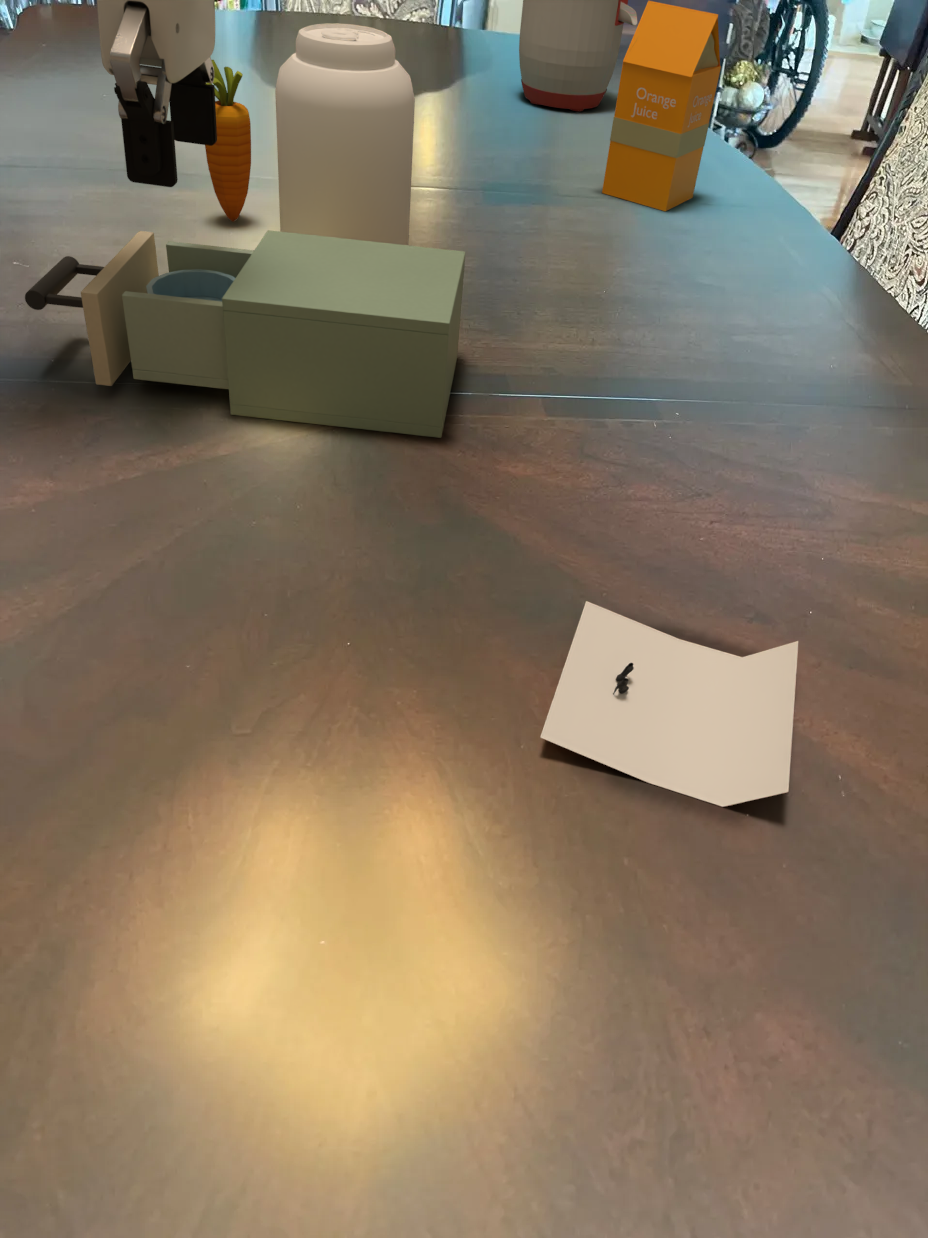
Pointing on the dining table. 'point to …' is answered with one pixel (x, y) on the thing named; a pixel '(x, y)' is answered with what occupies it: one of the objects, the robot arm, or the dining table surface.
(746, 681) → the folded paper
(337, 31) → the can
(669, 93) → the orange juice
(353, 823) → the dining table surface
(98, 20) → the robot arm
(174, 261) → the drawer
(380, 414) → the grey-green cabinet box
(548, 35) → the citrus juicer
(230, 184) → the carrot
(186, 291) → the bowl
